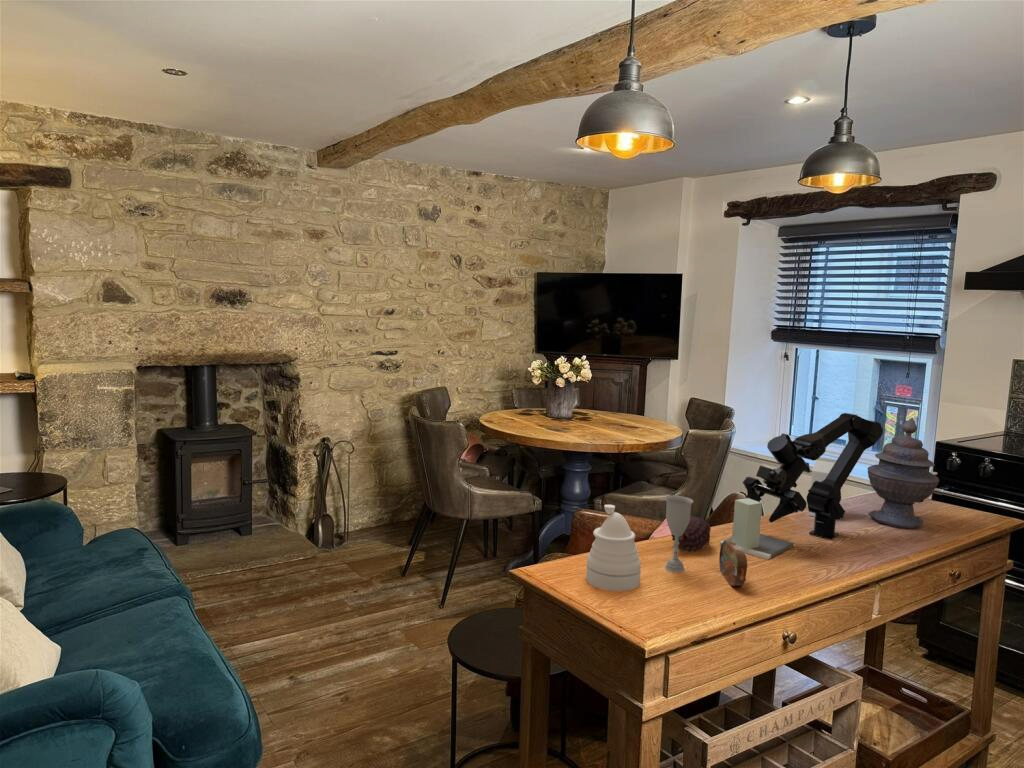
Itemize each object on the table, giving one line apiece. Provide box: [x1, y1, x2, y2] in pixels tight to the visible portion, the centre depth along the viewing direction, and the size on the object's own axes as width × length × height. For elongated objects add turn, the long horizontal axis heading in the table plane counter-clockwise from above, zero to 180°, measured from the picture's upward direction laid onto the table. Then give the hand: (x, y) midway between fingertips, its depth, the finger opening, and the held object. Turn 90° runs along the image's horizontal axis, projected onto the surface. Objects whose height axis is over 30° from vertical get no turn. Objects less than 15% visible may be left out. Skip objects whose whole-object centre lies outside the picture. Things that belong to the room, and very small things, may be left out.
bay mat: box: [719, 533, 794, 560], centre depth 198 cm, size 16×14×1 cm
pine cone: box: [671, 515, 712, 553], centre depth 194 cm, size 18×10×10 cm
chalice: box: [664, 495, 694, 574], centre depth 177 cm, size 7×7×18 cm
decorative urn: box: [867, 417, 940, 529], centre depth 222 cm, size 20×20×34 cm
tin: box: [718, 540, 748, 587], centre depth 172 cm, size 15×3×8 cm, turn 178°
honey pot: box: [585, 504, 642, 592], centre depth 169 cm, size 13×13×18 cm
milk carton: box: [807, 456, 837, 518], centre depth 228 cm, size 7×7×19 cm
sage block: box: [731, 497, 763, 550], centre depth 194 cm, size 5×5×12 cm
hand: (756, 516), depth 196 cm, fingers open, 9 cm apart
